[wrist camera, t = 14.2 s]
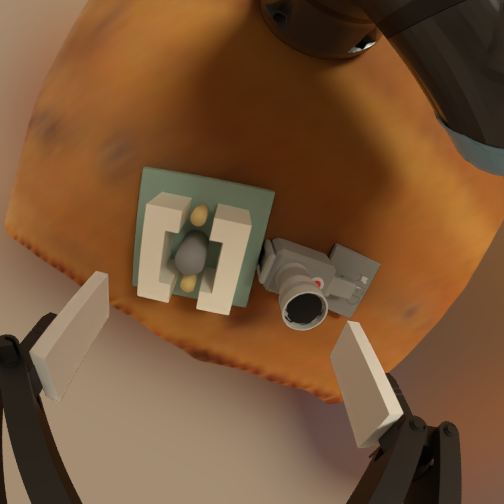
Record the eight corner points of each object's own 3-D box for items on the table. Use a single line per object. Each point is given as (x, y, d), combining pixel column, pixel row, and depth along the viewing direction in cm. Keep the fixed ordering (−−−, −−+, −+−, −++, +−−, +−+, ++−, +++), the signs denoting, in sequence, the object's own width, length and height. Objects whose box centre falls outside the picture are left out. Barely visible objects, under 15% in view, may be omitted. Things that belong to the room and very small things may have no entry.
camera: (292, 259, 23) (417, 301, 26) (273, 218, 34) (373, 256, 37) (254, 339, 26) (376, 363, 29) (247, 280, 37) (344, 309, 40)
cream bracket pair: (229, 287, 36) (228, 315, 30) (151, 271, 34) (137, 295, 29) (249, 210, 32) (251, 226, 27) (161, 191, 31) (146, 203, 25)
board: (147, 166, 31) (125, 174, 25) (273, 190, 33) (282, 203, 27) (135, 280, 36) (118, 308, 30) (245, 301, 38) (247, 333, 32)
